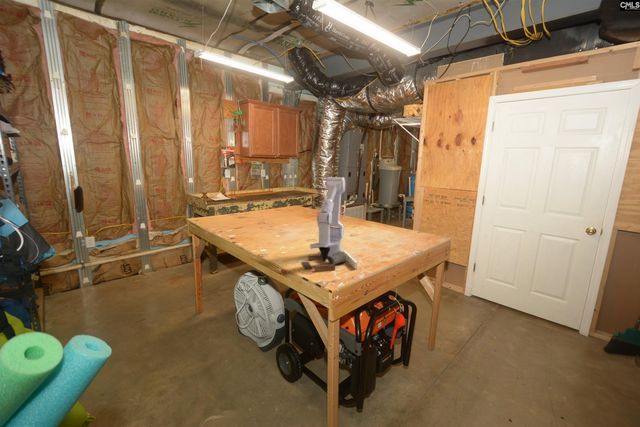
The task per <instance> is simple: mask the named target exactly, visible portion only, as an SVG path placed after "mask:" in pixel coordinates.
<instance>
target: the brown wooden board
mask: <svg viewBox="0 0 640 427" xmlns="http://www.w3.org/2000/svg"><path fill="white" fill-rule="evenodd" d="M319 260H322V255H321V254H312V255H311V254H310V255H308V261H319ZM322 261H323V260H322ZM325 271H336V264H333V265H332V264H324V265H323V264H322V265H315V266H314V272H325Z"/></svg>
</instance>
